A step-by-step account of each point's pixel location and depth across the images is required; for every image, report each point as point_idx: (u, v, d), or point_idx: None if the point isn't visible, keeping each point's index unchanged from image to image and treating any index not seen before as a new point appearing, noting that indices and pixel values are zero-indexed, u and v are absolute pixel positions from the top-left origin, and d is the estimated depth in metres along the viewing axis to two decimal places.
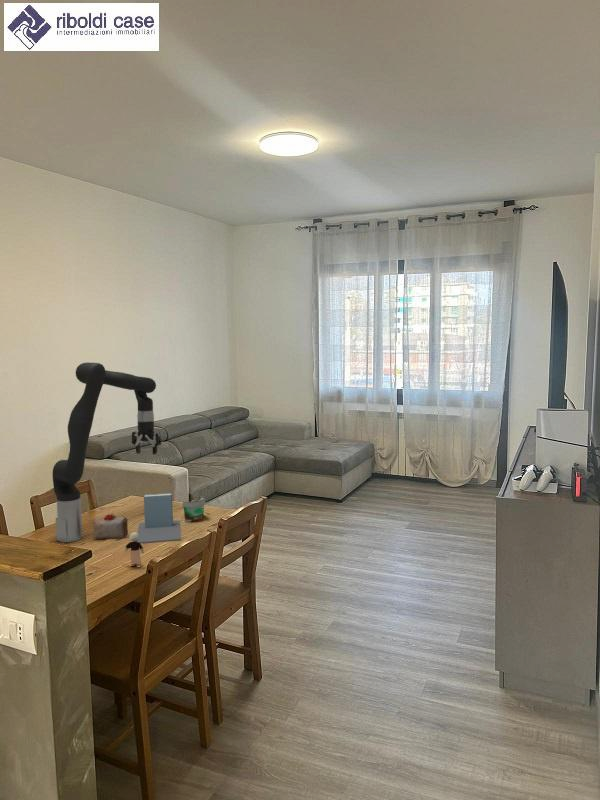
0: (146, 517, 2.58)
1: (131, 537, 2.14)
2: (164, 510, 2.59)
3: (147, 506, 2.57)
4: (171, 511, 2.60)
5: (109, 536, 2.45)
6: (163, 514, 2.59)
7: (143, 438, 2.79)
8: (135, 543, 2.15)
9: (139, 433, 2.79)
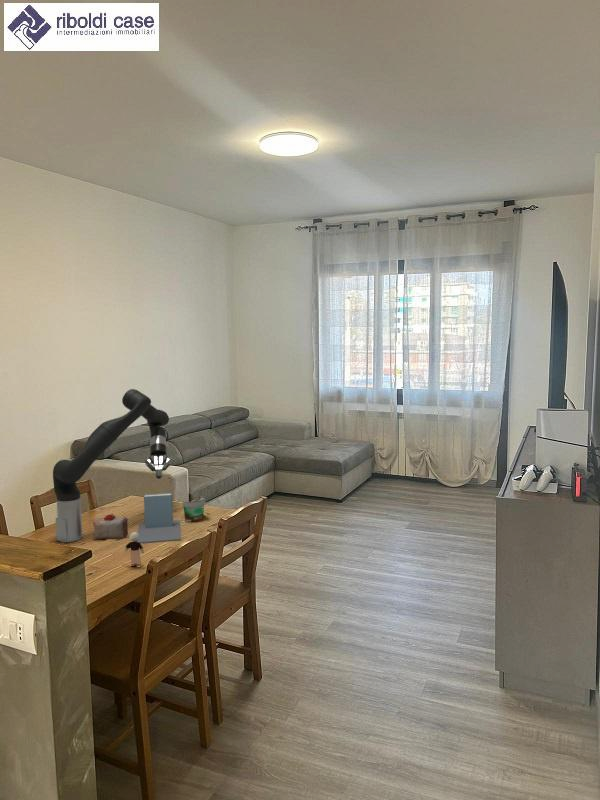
0: (146, 517, 2.58)
1: (131, 537, 2.14)
2: (164, 510, 2.59)
3: (147, 506, 2.57)
4: (171, 511, 2.60)
5: (109, 536, 2.45)
6: (163, 514, 2.59)
7: None
8: (135, 543, 2.15)
9: None
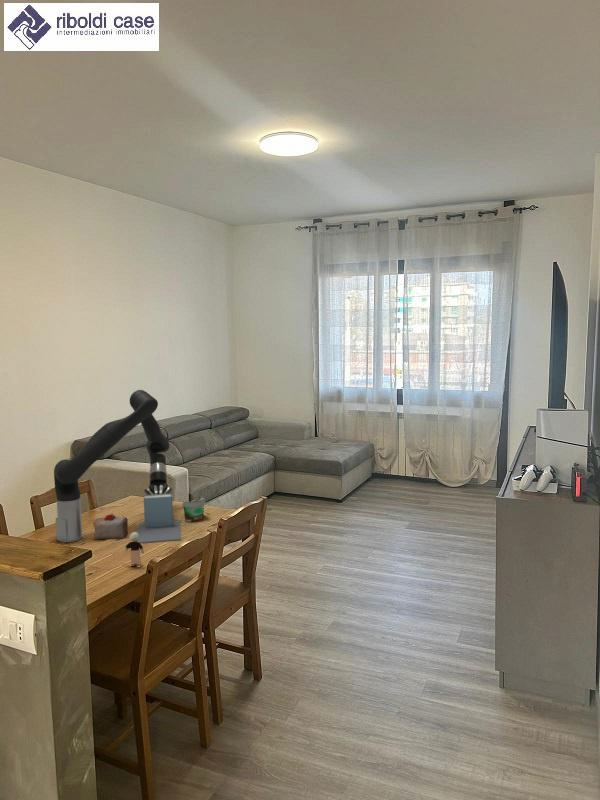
0: (146, 518, 2.57)
1: (131, 537, 2.14)
2: (164, 511, 2.58)
3: (147, 507, 2.56)
4: (171, 512, 2.59)
5: (109, 536, 2.44)
6: (163, 515, 2.58)
7: None
8: (135, 543, 2.15)
9: None
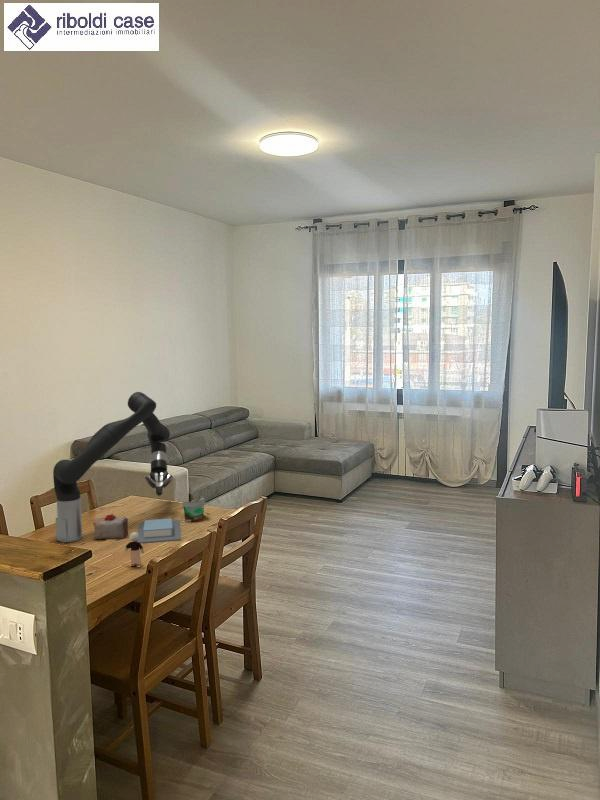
0: None
1: (131, 537, 2.14)
2: None
3: None
4: None
5: (110, 536, 2.44)
6: None
7: None
8: (135, 543, 2.15)
9: None
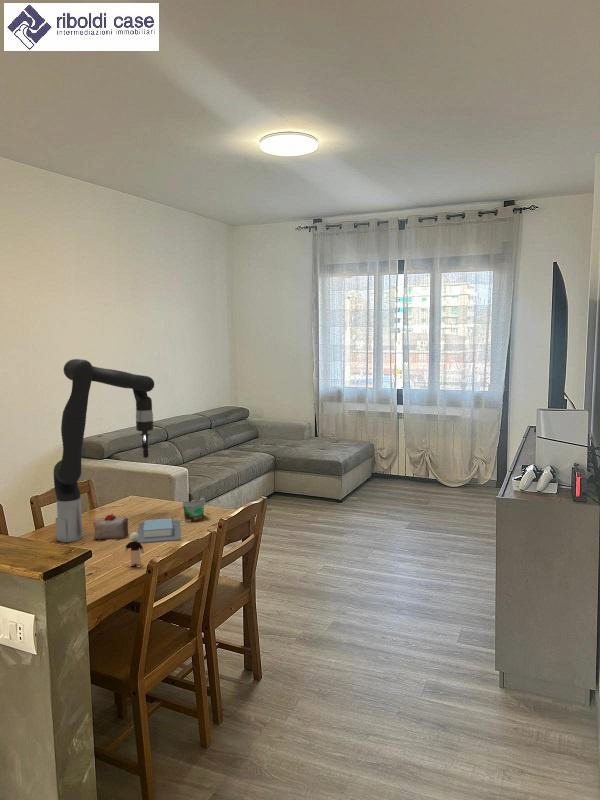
0: None
1: (131, 537, 2.14)
2: None
3: None
4: None
5: (110, 536, 2.44)
6: None
7: None
8: (135, 543, 2.15)
9: (147, 434, 2.66)
